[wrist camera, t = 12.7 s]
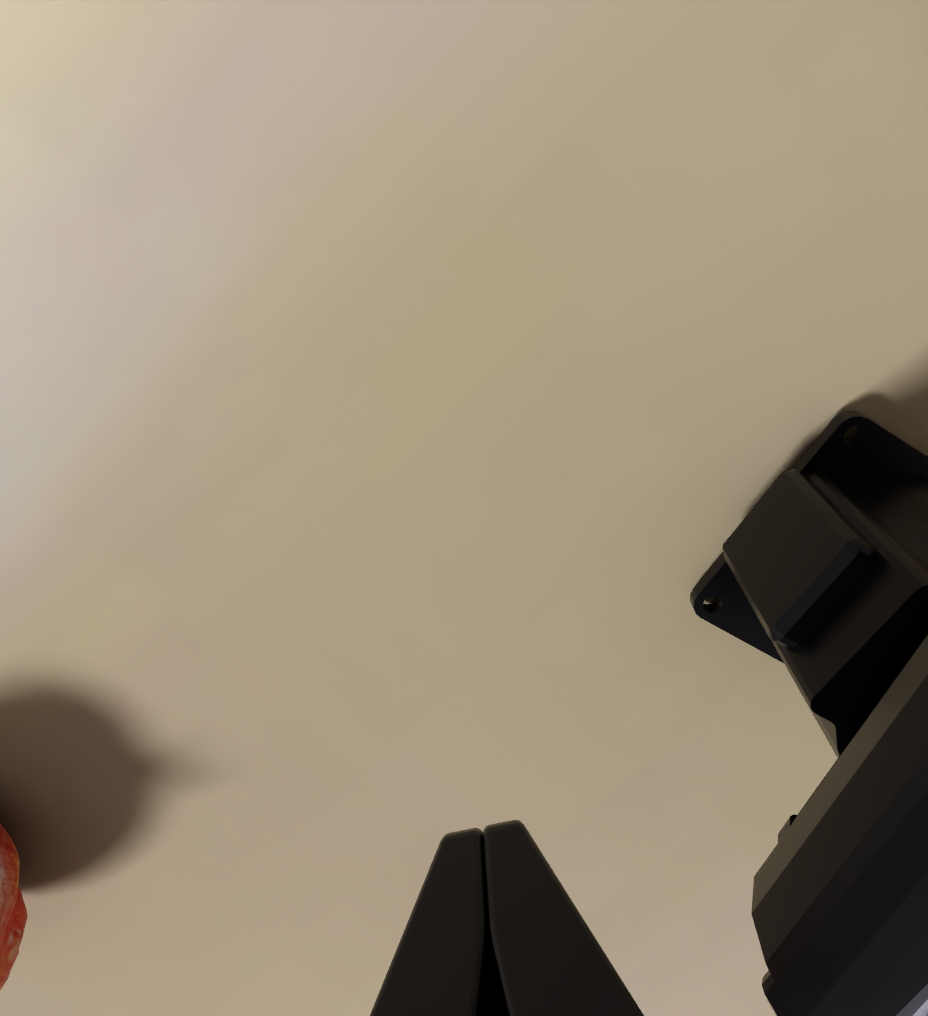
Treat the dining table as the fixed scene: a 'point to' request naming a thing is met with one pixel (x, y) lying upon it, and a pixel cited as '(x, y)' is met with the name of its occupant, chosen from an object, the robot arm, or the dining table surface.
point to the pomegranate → (9, 906)
